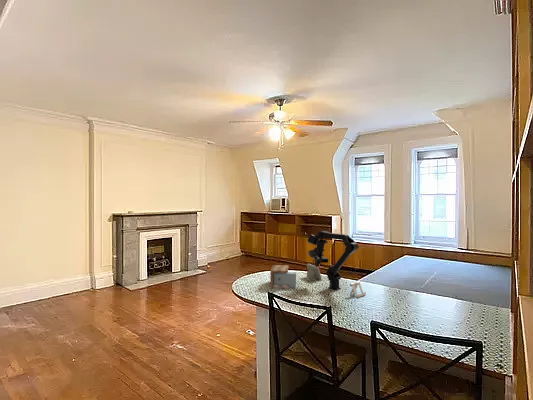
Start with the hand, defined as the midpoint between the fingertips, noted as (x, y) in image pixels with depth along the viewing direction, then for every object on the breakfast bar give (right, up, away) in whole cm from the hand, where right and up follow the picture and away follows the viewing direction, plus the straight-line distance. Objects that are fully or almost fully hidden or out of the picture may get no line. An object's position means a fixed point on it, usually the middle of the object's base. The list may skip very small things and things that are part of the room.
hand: (316, 266), depth 238 cm
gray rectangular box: (-24, -13, -6) cm, 28 cm away
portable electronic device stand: (+23, -14, -26) cm, 37 cm away
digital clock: (+1, -13, +17) cm, 22 cm away
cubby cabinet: (-27, -13, -1) cm, 30 cm away
